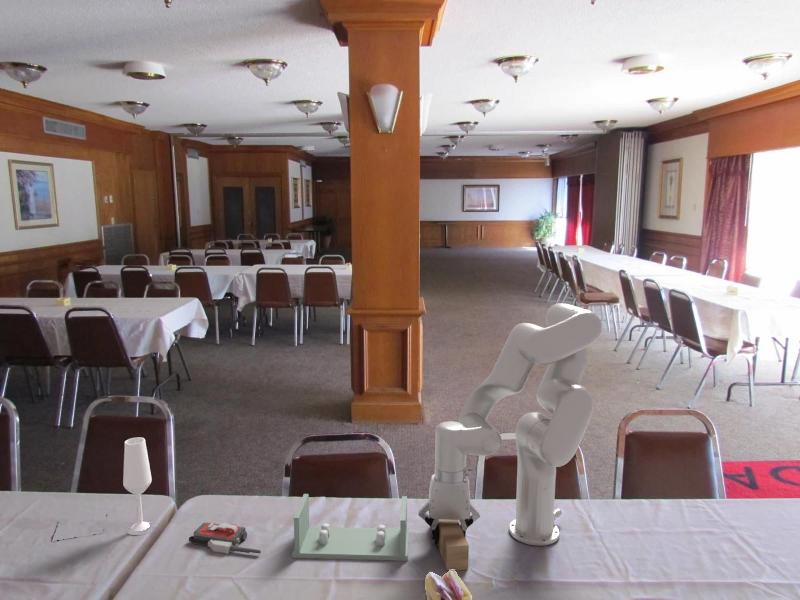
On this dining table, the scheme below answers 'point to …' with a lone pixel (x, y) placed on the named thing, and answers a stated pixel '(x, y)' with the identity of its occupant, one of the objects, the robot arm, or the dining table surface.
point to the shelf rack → (349, 539)
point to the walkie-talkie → (221, 537)
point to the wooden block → (452, 544)
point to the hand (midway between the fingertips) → (448, 541)
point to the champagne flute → (137, 475)
